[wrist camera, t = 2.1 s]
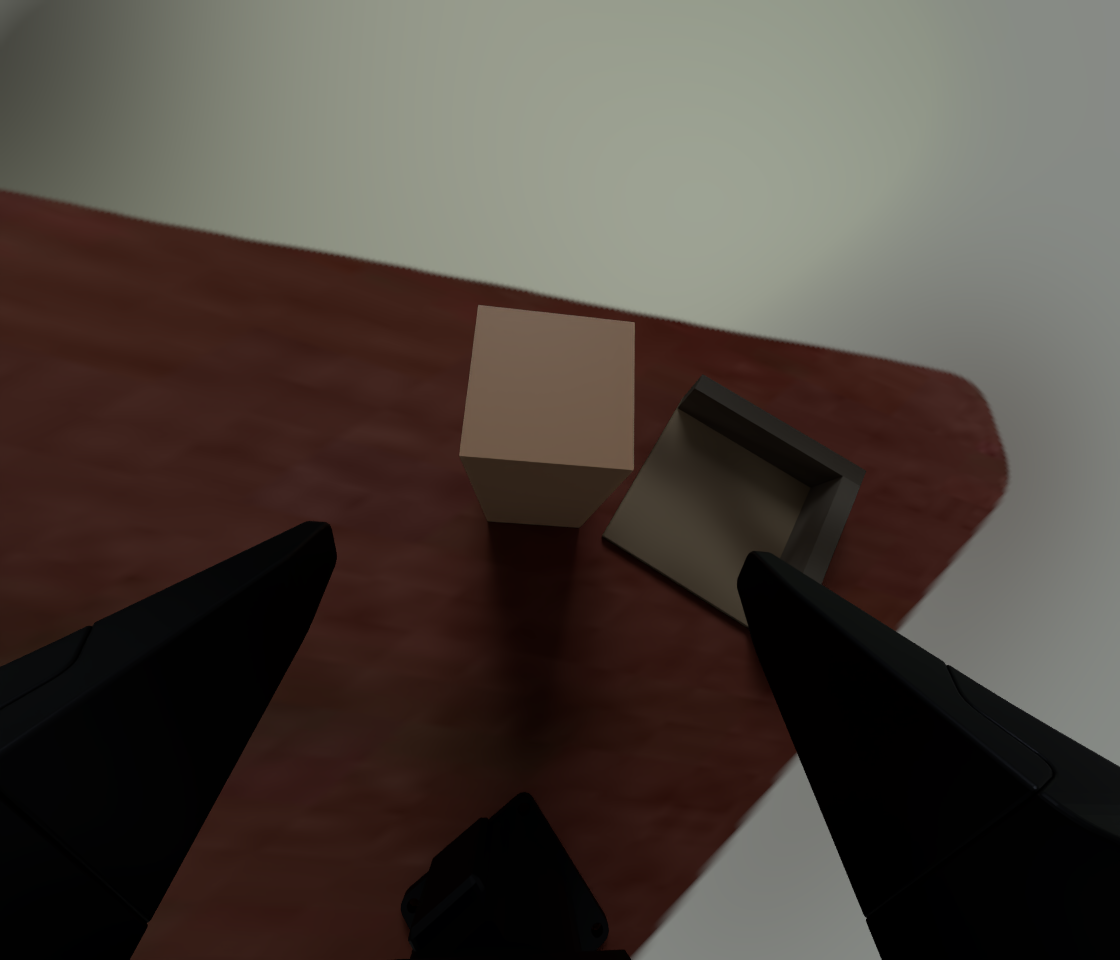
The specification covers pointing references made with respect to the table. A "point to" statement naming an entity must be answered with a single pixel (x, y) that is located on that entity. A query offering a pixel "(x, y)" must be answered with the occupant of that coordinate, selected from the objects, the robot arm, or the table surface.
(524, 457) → the tan block
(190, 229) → the table surface
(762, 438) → the grey shallow square piece
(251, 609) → the robot arm
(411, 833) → the table surface
